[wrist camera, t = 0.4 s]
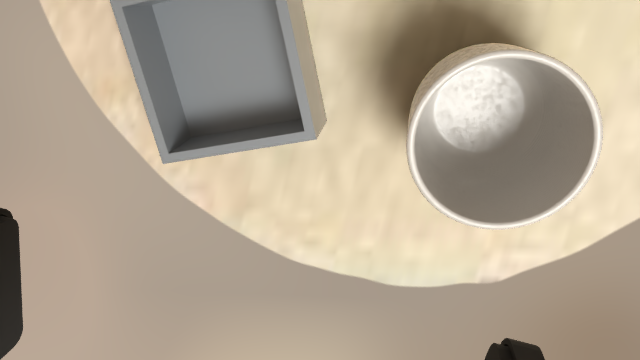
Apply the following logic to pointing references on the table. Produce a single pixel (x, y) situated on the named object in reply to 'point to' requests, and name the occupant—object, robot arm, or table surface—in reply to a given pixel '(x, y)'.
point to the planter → (502, 136)
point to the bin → (222, 74)
